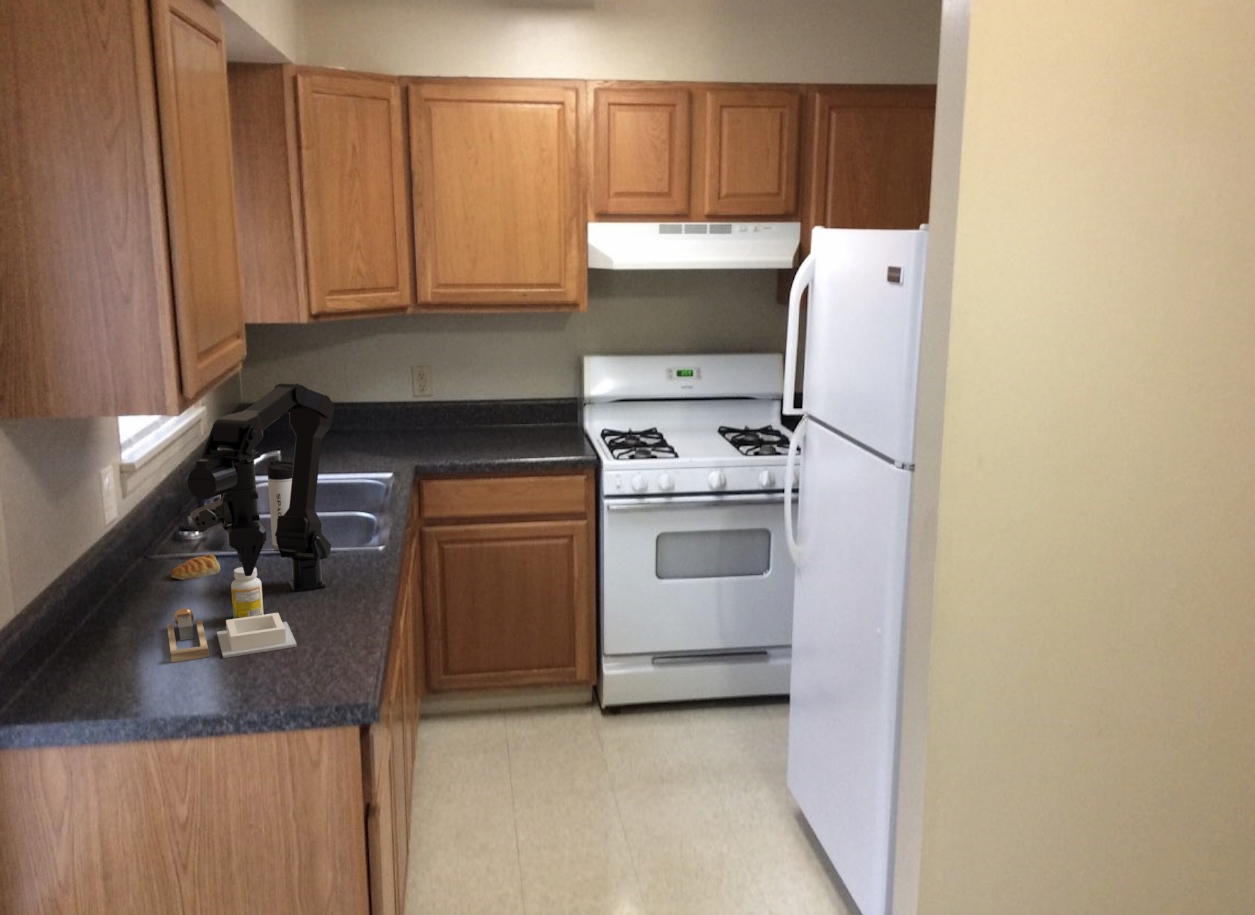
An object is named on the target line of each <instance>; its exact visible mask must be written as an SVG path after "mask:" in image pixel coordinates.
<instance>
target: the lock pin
mask: <svg viewBox="0 0 1255 915" xmlns="http://www.w3.org/2000/svg"><path fill="white" fill-rule="evenodd" d="M173 618H174V623H175V624H176V625H177V628H178V634H179V640H180V641H185V640H186V641H187V640H193V639H194V637H195V636H194V627H193V626H194V625H193V621H194V613H193V612H192V610H190V609H189V608H180V609H178V610H176V612H175V613H174V616H173Z"/></svg>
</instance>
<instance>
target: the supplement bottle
mask: <svg viewBox="0 0 1255 915" xmlns="http://www.w3.org/2000/svg"><path fill="white" fill-rule="evenodd" d="M257 569H258V568H257V567H255V568H254V570H253V573H252V575H251V576H245V574H244V570H243V567H242V566H241V567H240V566H239V567H237V568H235V569H233V578H234V580H233V581H232V582H231V585H230V589H231V590H230V591H231V604H232V605H231V606H232V617H233V618H232V619H236V618H243V617H250V616H257V615H264V600H263V588H262V587H263V586H262V584H263V583H262V581H261V579H260V578H258V577H257V576H258V570H257Z"/></svg>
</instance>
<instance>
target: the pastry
mask: <svg viewBox="0 0 1255 915" xmlns="http://www.w3.org/2000/svg"><path fill="white" fill-rule="evenodd" d="M220 571H221V565H220V563H219V561H218V560H217V557H216V556H215V555H214V554H212V553H210V554H204V555H203V556H196V557H193V558H189V559H188V560H186V561H185V562H183V563H180V564H179V565H177V566H176V567H174V568H172V571H171V575H170V576H171V578H173V579H177V580H181V581H186V580H193V579H200V578H204V577H209V576H213V575H216V574H219V573H220Z"/></svg>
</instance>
